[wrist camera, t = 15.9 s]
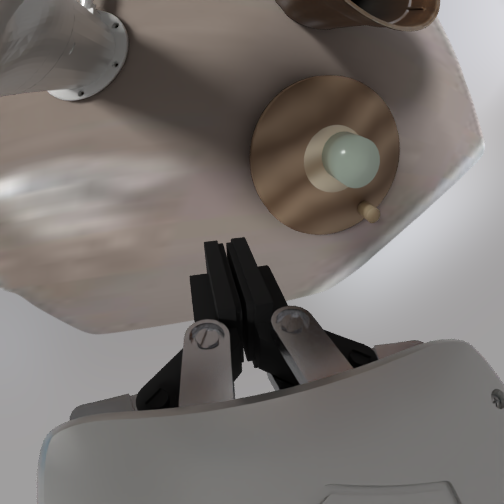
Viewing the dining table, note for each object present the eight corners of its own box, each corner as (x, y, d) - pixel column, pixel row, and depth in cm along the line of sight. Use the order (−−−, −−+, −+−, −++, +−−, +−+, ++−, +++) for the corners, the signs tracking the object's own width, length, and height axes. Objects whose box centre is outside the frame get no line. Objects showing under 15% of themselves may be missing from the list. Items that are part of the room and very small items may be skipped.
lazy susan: (211, 145, 33) (215, 153, 29) (349, 47, 29) (368, 45, 25) (308, 256, 46) (319, 272, 43) (410, 171, 42) (427, 181, 38)
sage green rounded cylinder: (313, 148, 35) (327, 155, 31) (352, 122, 34) (369, 127, 30) (334, 187, 39) (348, 197, 35) (369, 162, 38) (385, 170, 34)
